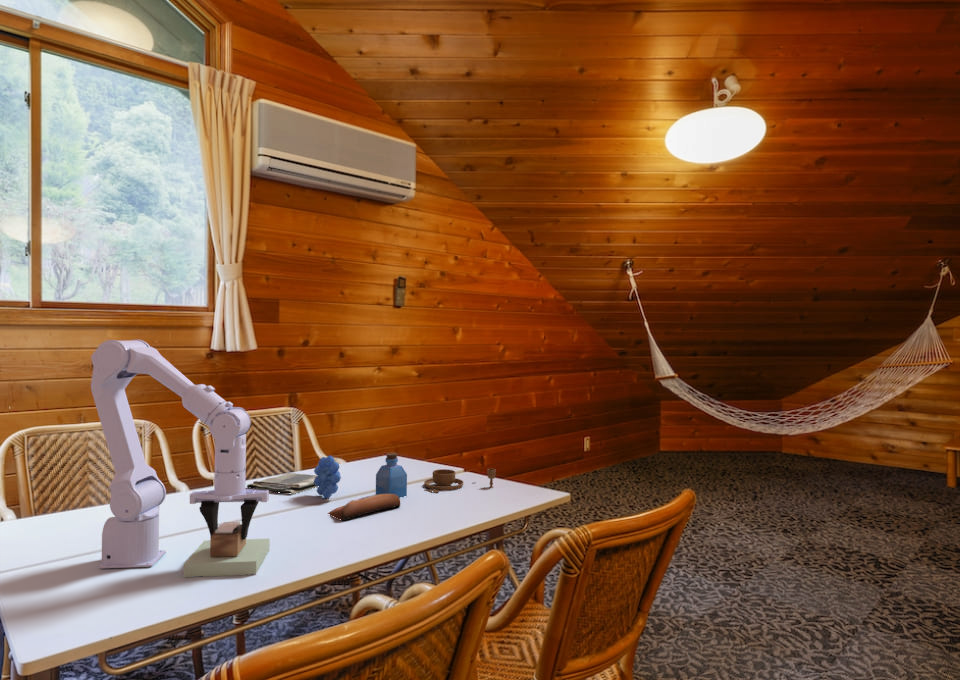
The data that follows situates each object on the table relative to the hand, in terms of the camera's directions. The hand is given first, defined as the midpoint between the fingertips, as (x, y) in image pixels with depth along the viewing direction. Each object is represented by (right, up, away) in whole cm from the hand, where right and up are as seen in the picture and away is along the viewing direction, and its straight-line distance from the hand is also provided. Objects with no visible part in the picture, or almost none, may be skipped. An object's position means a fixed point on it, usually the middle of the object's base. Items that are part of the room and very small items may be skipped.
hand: (229, 538), depth 122 cm
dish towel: (-7, -5, +63) cm, 63 cm away
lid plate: (0, +1, 0) cm, 1 cm away
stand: (0, -5, 0) cm, 5 cm away
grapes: (+8, -5, +50) cm, 51 cm away
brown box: (0, -2, 0) cm, 2 cm away
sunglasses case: (+20, -6, +37) cm, 42 cm away
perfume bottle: (+25, -5, +52) cm, 58 cm away
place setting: (+42, -6, +63) cm, 76 cm away
